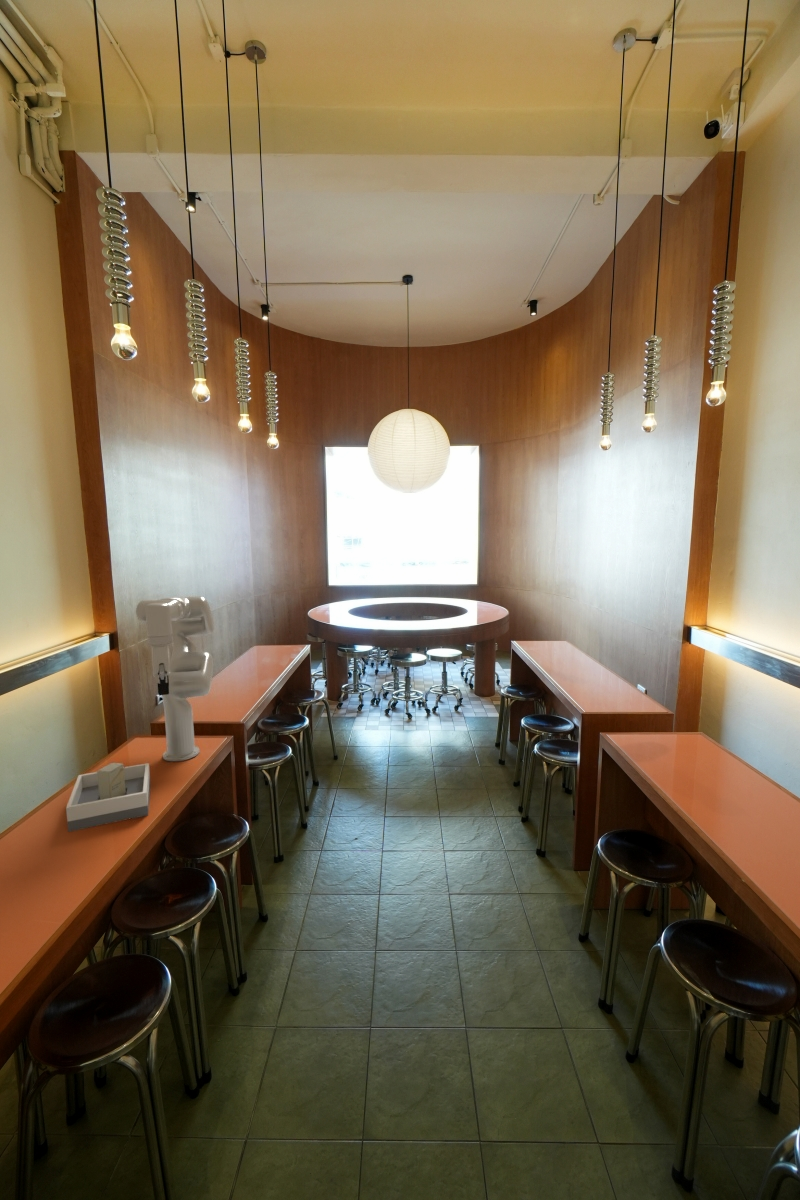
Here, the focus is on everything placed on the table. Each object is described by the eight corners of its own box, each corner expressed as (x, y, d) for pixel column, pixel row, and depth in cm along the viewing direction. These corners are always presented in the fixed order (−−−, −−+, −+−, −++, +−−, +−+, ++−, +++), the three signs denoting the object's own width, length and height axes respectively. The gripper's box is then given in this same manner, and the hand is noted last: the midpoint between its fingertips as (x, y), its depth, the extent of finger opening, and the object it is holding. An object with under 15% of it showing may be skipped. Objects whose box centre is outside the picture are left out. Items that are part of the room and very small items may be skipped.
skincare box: (112, 810, 154) (108, 772, 153) (99, 809, 155) (96, 771, 154) (127, 800, 160) (124, 763, 159) (115, 799, 161) (111, 761, 160)
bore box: (80, 796, 163) (78, 775, 162) (150, 783, 171) (148, 763, 170) (68, 831, 143) (66, 808, 142) (148, 815, 151) (146, 792, 151)
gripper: (148, 636, 176) (152, 685, 178) (146, 646, 160) (150, 699, 162) (172, 634, 179) (175, 682, 181) (172, 644, 163) (176, 696, 166)
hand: (163, 690), depth 172 cm, fingers open, 9 cm apart
